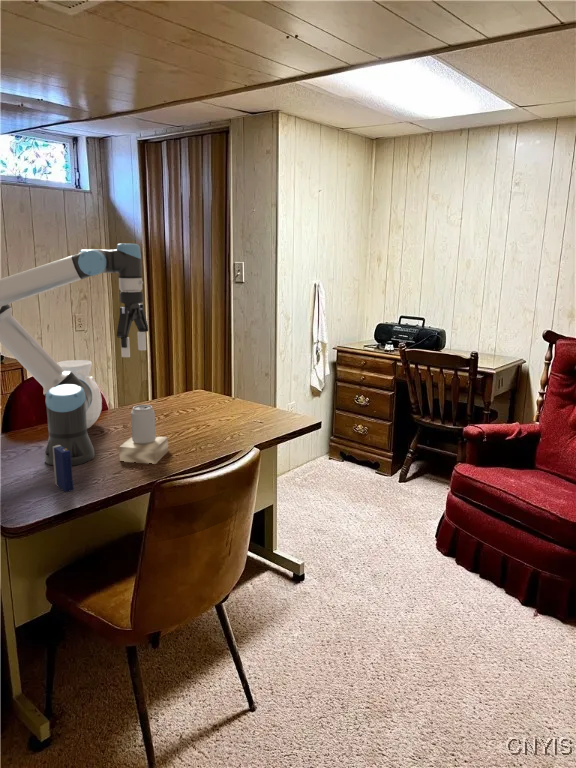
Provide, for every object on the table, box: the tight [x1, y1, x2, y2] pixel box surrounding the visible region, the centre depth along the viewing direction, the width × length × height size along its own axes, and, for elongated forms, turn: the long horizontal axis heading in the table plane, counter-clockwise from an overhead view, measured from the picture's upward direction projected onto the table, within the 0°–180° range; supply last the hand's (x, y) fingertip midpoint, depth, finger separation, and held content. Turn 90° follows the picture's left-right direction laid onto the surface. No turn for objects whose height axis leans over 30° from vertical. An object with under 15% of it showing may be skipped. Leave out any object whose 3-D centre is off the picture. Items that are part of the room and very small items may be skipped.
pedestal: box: [118, 436, 169, 465], centre depth 187 cm, size 12×12×5 cm
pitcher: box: [56, 359, 103, 429], centre depth 215 cm, size 19×18×25 cm
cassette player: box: [53, 445, 74, 492], centre depth 161 cm, size 7×2×12 cm, turn 43°
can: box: [130, 404, 157, 445], centre depth 186 cm, size 8×8×12 cm
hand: (134, 353), depth 195 cm, fingers open, 13 cm apart
